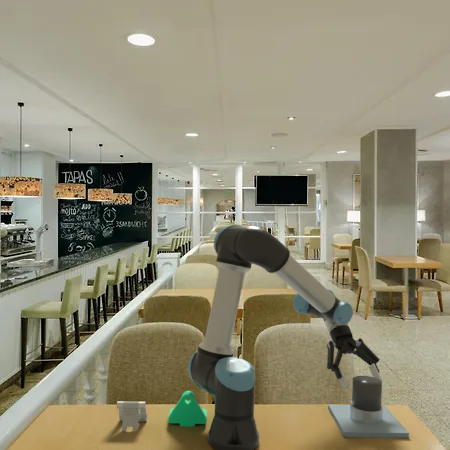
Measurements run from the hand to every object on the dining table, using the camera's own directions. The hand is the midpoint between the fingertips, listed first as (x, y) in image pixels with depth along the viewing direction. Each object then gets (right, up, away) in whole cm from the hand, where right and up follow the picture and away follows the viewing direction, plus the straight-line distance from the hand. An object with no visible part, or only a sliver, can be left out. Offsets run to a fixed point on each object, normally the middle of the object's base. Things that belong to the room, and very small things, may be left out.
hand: (363, 385), depth 154 cm
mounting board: (0, -11, -3) cm, 11 cm away
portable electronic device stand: (-76, -10, -9) cm, 77 cm away
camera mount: (-58, -10, -5) cm, 59 cm away
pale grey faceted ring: (0, -10, -3) cm, 10 cm away
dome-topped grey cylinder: (0, -9, -3) cm, 10 cm away
